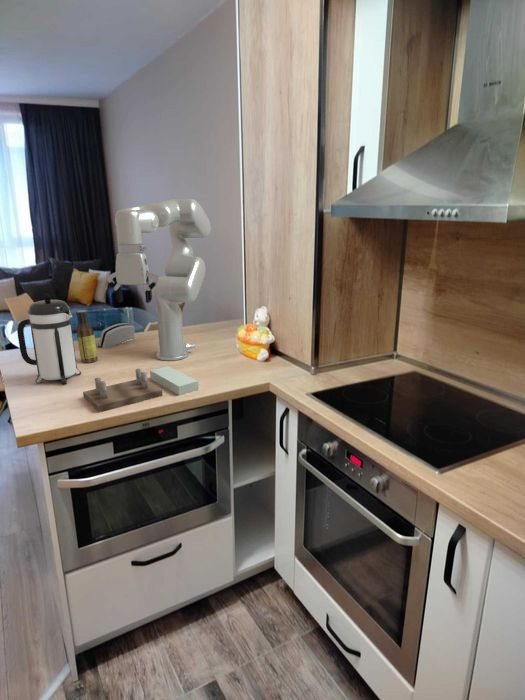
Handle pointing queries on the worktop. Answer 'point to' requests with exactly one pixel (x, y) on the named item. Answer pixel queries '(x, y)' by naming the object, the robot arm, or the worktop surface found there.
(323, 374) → the worktop surface
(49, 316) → the coffee press
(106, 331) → the napkin holder
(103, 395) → the peg stand
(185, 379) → the shelf board
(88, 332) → the sauce bottle
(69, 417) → the worktop surface
